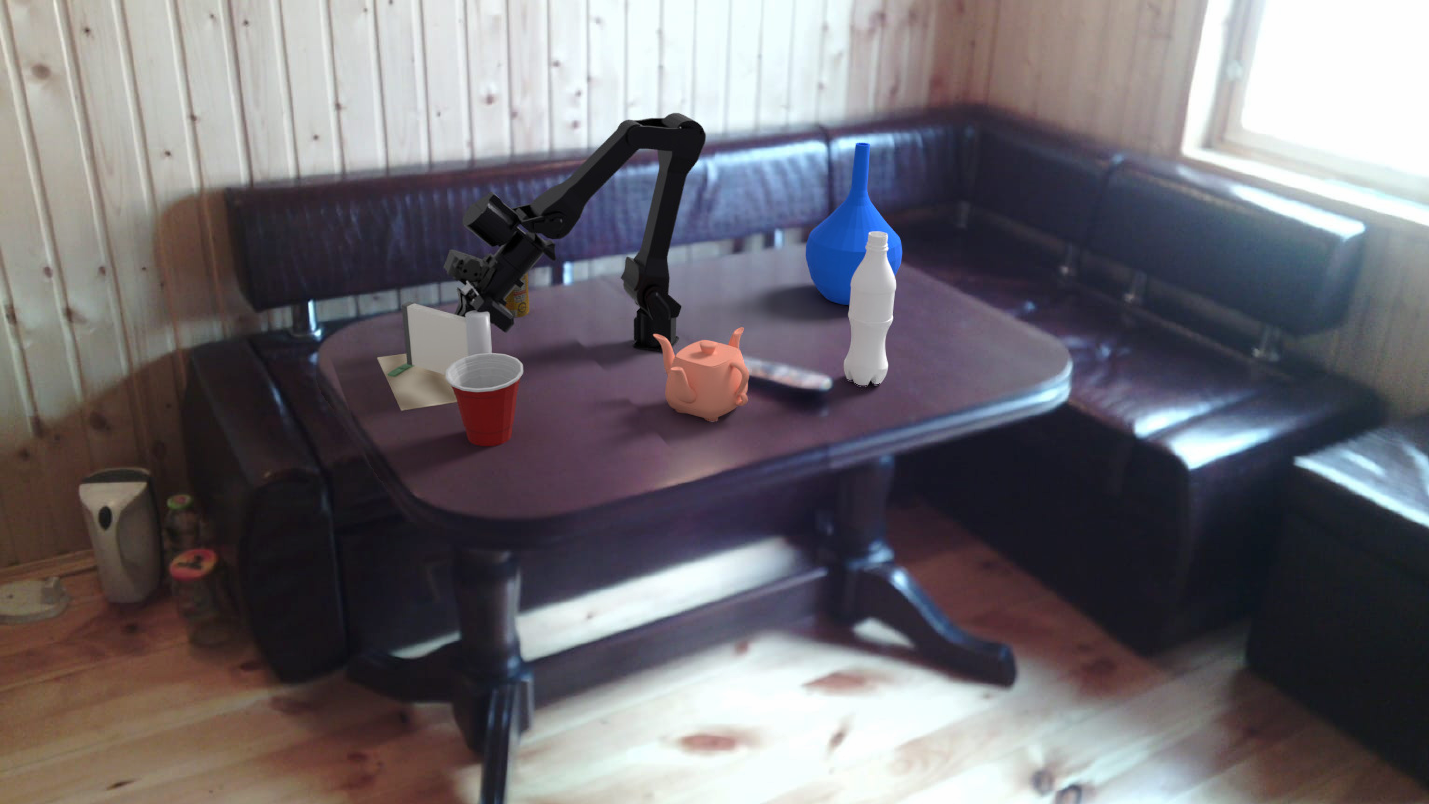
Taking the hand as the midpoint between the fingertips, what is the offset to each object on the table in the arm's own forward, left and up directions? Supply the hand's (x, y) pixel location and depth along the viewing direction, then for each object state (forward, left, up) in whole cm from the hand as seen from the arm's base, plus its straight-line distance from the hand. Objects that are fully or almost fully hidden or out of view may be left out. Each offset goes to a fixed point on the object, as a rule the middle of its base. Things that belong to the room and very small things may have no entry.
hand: (447, 337), depth 186 cm
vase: (-55, -58, -7) cm, 81 cm away
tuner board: (0, +3, -6) cm, 7 cm away
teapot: (-41, -2, -7) cm, 42 cm away
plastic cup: (-16, +20, -7) cm, 27 cm away
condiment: (+1, -25, -7) cm, 26 cm away
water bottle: (-64, -20, -7) cm, 68 cm away
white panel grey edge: (-2, +4, -5) cm, 7 cm away
